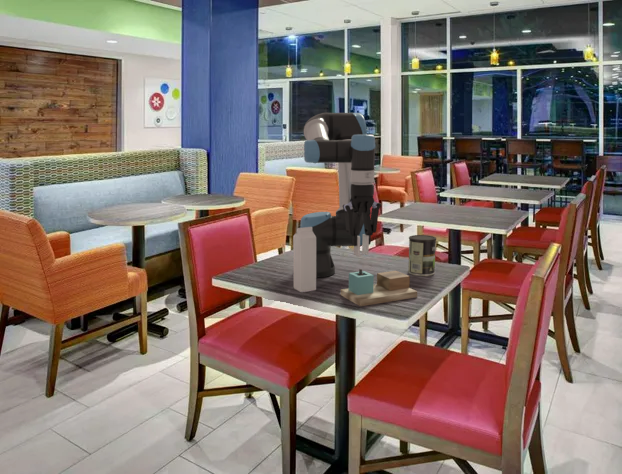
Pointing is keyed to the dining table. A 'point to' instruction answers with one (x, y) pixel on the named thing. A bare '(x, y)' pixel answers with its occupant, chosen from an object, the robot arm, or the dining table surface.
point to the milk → (304, 259)
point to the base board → (378, 295)
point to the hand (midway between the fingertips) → (361, 254)
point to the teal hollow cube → (361, 283)
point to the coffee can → (422, 255)
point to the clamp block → (393, 280)
